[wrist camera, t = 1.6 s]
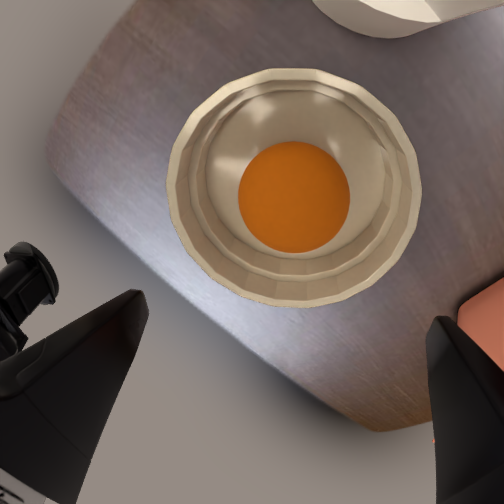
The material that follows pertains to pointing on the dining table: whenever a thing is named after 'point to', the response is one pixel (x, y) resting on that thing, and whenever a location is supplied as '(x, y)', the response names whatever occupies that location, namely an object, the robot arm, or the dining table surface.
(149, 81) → the dining table surface
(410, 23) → the cylinder with rectangular tab
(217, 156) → the bowl
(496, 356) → the teapot
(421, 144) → the dining table surface
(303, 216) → the orange
